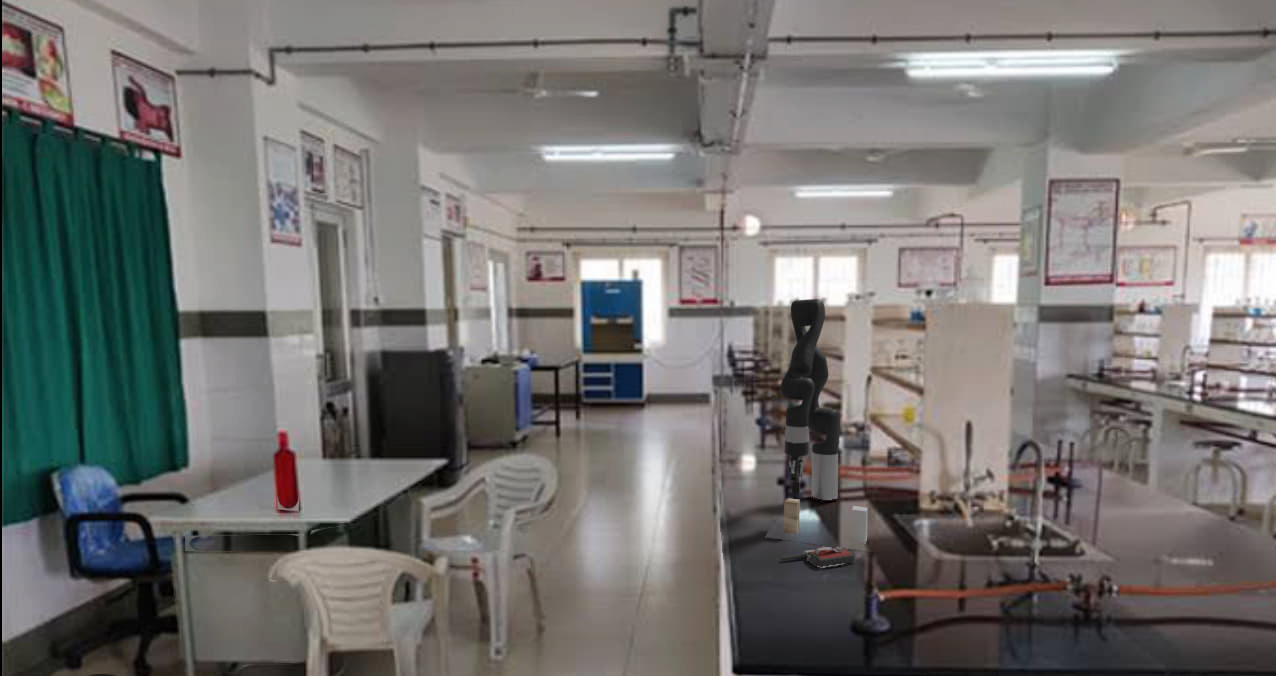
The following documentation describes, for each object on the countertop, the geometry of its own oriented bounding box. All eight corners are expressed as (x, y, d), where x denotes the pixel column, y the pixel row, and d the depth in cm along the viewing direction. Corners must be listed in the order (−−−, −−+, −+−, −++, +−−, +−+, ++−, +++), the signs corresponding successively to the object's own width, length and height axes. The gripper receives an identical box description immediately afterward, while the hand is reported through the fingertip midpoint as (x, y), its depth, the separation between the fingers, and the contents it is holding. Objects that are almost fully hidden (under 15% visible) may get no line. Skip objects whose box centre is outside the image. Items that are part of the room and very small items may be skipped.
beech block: (786, 529, 206) (786, 498, 205) (799, 531, 204) (799, 499, 204) (783, 533, 202) (784, 501, 202) (797, 535, 200) (797, 503, 200)
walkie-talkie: (840, 553, 187) (778, 562, 181) (840, 538, 187) (779, 546, 181) (860, 564, 179) (795, 574, 173) (860, 549, 179) (795, 557, 173)
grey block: (853, 538, 198) (853, 505, 197) (867, 540, 196) (867, 507, 196) (851, 542, 194) (852, 509, 193) (865, 544, 192) (866, 511, 192)
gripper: (789, 435, 217) (788, 486, 217) (780, 442, 205) (779, 496, 205) (812, 437, 214) (811, 489, 214) (805, 444, 202) (804, 499, 202)
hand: (795, 493), depth 210 cm, fingers closed
